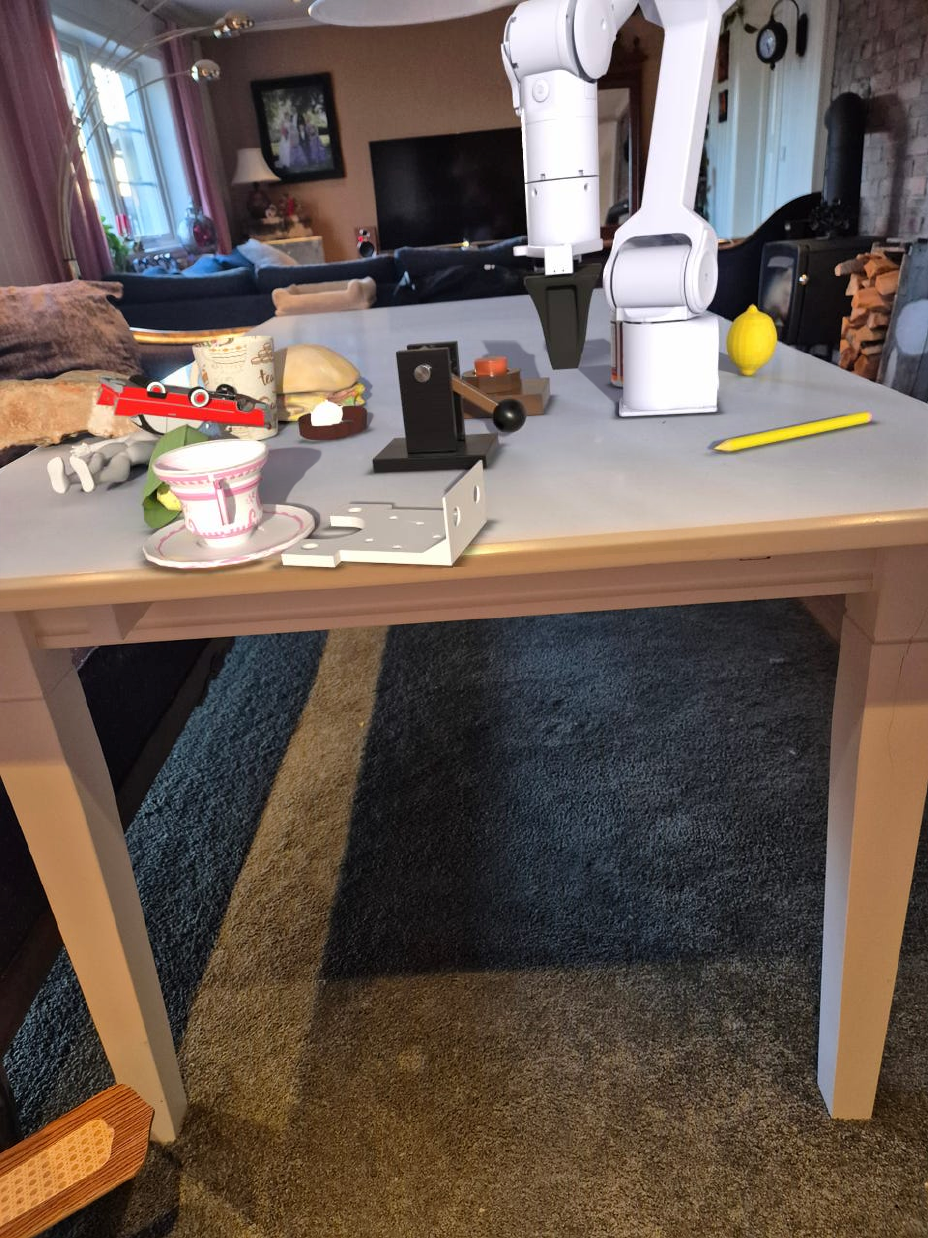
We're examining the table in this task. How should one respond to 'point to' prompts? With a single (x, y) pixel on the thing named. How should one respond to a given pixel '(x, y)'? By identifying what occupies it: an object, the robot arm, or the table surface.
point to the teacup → (221, 508)
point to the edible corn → (156, 492)
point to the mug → (240, 378)
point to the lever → (493, 405)
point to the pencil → (794, 431)
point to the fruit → (751, 340)
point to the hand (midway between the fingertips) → (568, 360)
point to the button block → (507, 391)
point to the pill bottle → (616, 350)
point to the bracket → (401, 531)
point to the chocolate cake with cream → (332, 421)
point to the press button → (490, 365)
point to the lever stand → (433, 416)
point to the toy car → (176, 404)
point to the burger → (313, 380)
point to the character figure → (105, 461)
